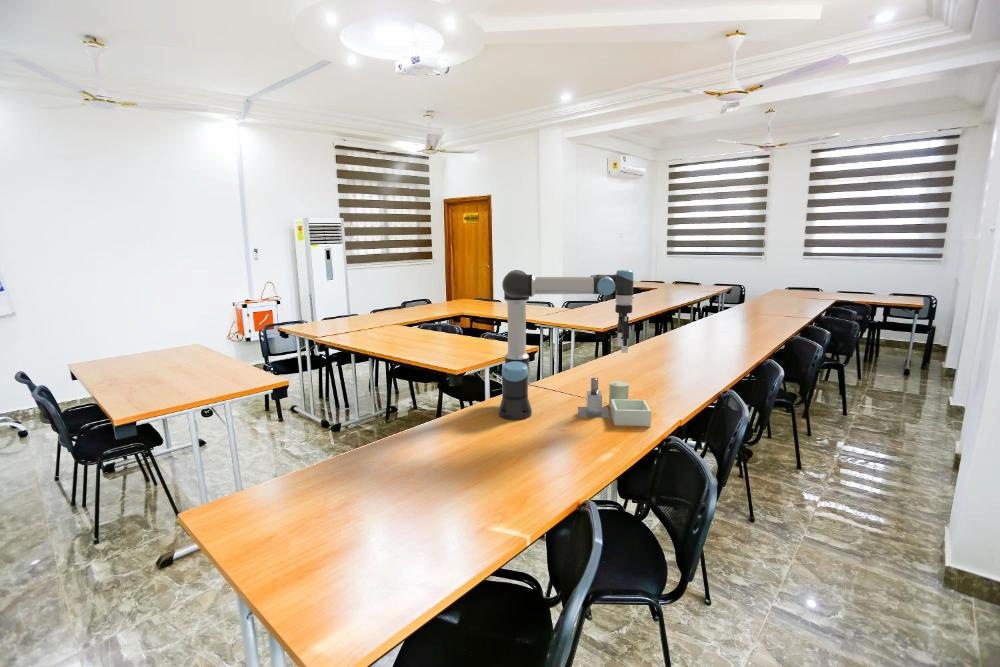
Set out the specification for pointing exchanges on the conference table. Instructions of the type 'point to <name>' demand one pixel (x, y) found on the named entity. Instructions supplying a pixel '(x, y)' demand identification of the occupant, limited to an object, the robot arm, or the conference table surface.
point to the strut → (594, 399)
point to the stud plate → (583, 413)
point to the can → (618, 390)
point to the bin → (630, 412)
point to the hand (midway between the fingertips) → (622, 349)
